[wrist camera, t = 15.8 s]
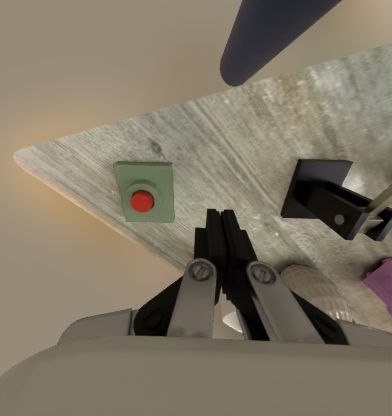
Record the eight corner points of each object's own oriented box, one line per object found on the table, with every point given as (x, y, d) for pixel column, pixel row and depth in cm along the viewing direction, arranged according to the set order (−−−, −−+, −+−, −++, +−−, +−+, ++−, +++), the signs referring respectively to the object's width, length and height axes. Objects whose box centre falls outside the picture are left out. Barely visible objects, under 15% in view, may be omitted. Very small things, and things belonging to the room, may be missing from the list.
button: (132, 190, 28) (128, 194, 27) (152, 190, 28) (149, 194, 27) (135, 207, 30) (132, 212, 29) (154, 208, 30) (152, 212, 29)
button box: (118, 161, 29) (107, 166, 26) (171, 162, 29) (168, 168, 26) (129, 216, 35) (122, 226, 32) (174, 217, 35) (172, 228, 32)
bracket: (298, 158, 29) (362, 182, 18) (347, 160, 29) (443, 184, 18) (280, 215, 35) (319, 260, 23) (321, 216, 35) (380, 261, 23)
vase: (326, 256, 40) (399, 333, 26) (306, 288, 46) (356, 364, 32) (276, 253, 40) (321, 329, 25) (263, 285, 46) (293, 362, 32)
